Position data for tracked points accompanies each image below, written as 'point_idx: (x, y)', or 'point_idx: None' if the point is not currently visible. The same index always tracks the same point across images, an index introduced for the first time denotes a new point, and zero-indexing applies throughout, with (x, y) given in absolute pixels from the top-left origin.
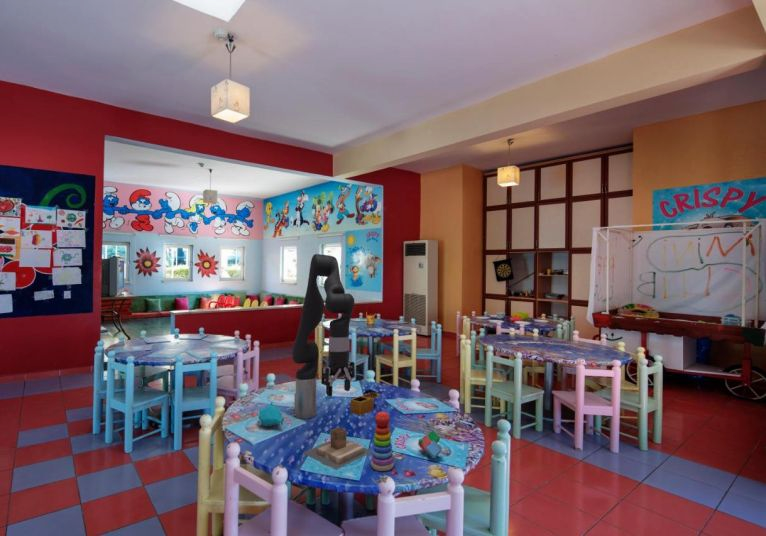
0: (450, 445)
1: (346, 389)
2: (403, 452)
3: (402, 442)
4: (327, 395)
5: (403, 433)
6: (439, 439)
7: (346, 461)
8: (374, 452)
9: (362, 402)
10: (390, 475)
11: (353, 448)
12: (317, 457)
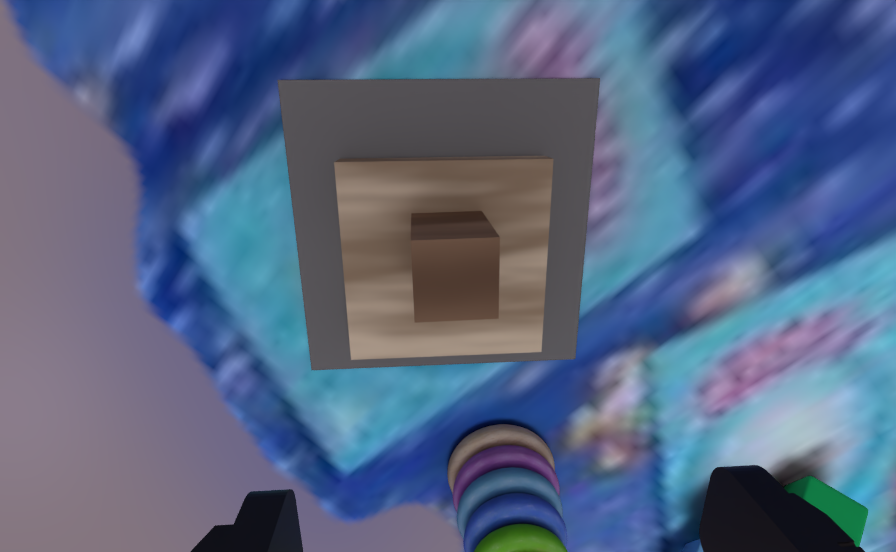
0: None
1: (720, 523)
2: (666, 440)
3: (761, 373)
4: (255, 500)
5: (868, 307)
6: None
7: None
8: (462, 516)
9: None
10: None
11: (489, 325)
12: (314, 202)
